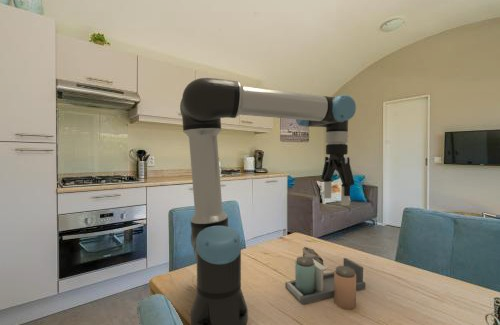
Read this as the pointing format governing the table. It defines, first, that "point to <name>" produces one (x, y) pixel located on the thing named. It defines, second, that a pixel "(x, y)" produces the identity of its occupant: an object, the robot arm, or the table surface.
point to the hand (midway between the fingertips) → (335, 201)
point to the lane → (327, 285)
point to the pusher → (319, 276)
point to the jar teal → (305, 275)
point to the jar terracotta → (345, 287)
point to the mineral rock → (312, 255)
